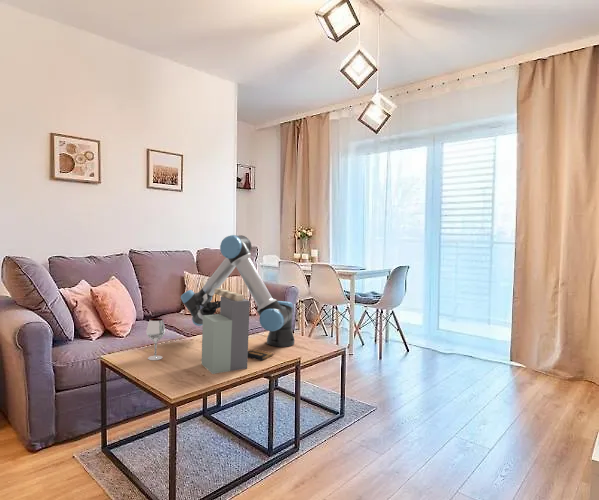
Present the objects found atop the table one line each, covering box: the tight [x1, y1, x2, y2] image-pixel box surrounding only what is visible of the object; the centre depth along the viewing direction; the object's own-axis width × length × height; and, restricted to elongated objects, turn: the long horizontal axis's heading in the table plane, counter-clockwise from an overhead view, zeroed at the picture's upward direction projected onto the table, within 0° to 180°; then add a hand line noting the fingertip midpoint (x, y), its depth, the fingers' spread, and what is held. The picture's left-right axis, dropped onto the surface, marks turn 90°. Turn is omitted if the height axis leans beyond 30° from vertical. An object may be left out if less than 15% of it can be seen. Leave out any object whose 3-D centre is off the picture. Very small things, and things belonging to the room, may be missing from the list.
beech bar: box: [214, 287, 244, 301], centre depth 184 cm, size 22×3×2 cm, turn 38°
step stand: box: [200, 296, 251, 375], centre depth 178 cm, size 14×16×30 cm
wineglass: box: [146, 317, 166, 361], centre depth 185 cm, size 8×8×18 cm
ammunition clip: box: [248, 348, 275, 361], centre depth 196 cm, size 11×2×12 cm
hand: (220, 295), depth 193 cm, fingers open, 13 cm apart
